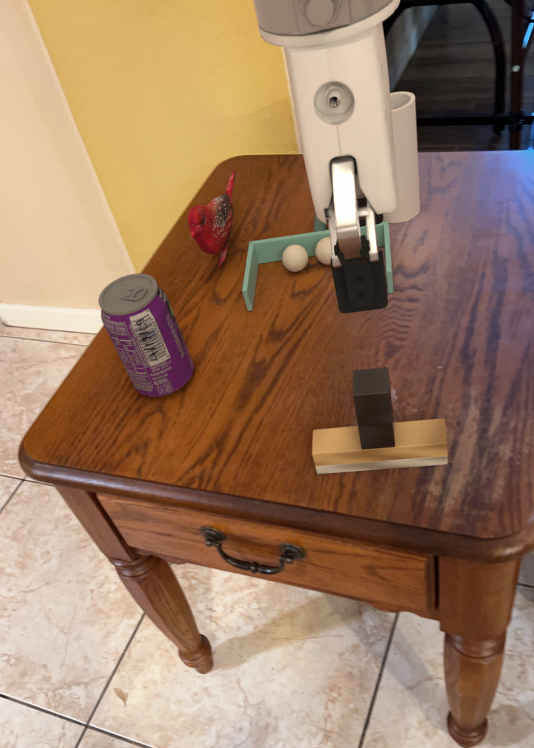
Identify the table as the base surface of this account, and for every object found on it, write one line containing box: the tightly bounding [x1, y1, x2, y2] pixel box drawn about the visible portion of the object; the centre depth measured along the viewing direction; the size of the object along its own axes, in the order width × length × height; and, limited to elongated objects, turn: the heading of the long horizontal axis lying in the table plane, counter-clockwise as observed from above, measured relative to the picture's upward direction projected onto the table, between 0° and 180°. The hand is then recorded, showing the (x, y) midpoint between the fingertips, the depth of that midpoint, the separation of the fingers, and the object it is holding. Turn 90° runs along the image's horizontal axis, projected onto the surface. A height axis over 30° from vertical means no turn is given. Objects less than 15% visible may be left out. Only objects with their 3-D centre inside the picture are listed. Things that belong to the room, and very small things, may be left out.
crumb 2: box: [315, 237, 332, 266], centre depth 85 cm, size 3×3×3 cm
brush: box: [311, 366, 449, 475], centre depth 62 cm, size 12×3×10 cm, turn 86°
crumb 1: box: [281, 244, 309, 273], centre depth 86 cm, size 3×3×3 cm
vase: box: [383, 91, 421, 224], centre depth 83 cm, size 11×7×20 cm, turn 115°
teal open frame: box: [241, 213, 395, 312], centre depth 85 cm, size 17×16×3 cm
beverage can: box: [97, 273, 195, 398], centre depth 75 cm, size 7×7×12 cm
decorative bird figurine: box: [187, 169, 236, 270], centre depth 89 cm, size 3×18×10 cm, turn 166°
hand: (362, 264), depth 49 cm, fingers open, 9 cm apart
